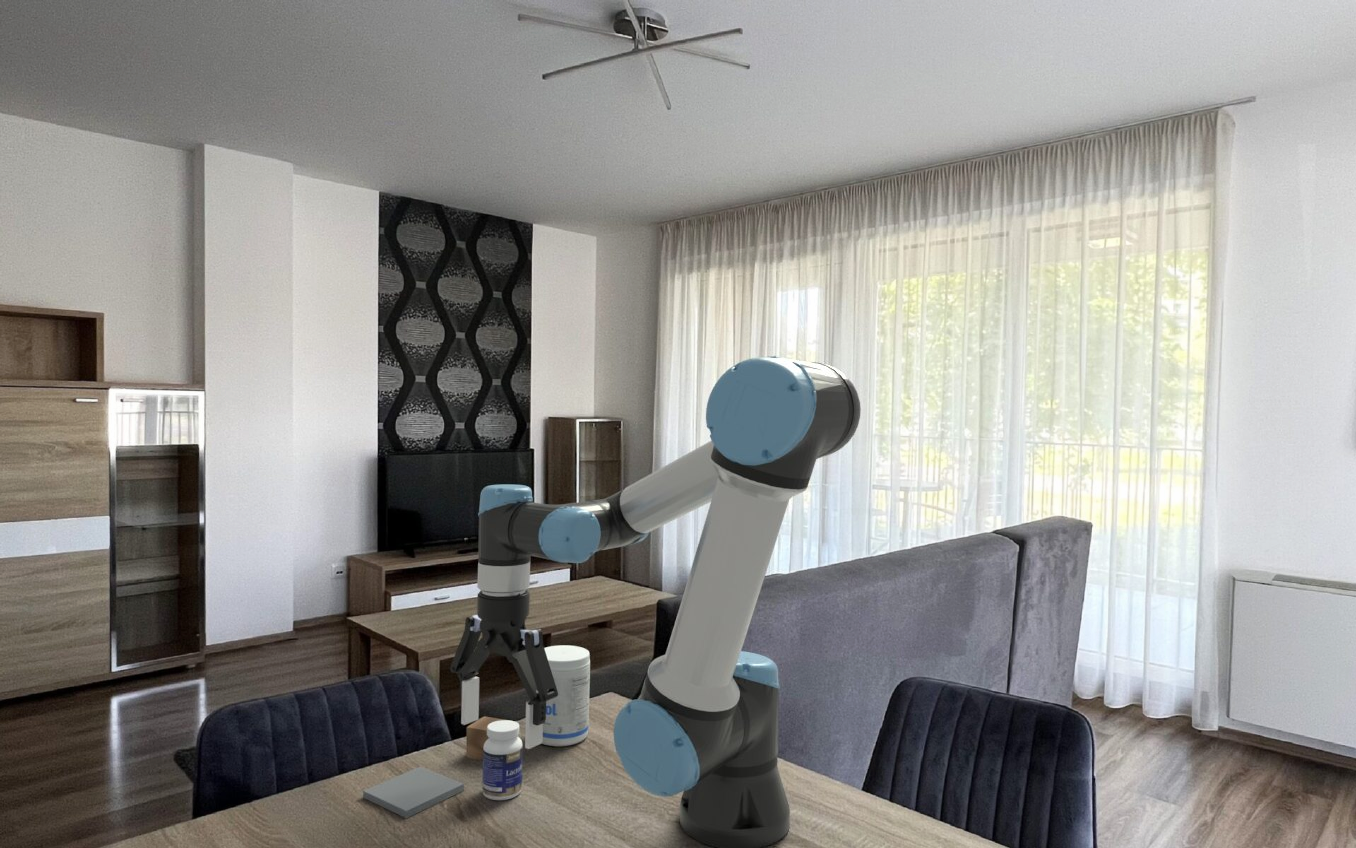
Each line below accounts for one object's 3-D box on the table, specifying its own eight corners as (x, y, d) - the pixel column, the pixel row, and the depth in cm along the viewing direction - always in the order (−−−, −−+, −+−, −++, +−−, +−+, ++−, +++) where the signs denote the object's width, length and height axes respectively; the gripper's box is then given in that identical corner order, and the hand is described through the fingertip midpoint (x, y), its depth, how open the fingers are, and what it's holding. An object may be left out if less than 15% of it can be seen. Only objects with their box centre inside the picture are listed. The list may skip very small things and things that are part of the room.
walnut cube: (509, 750, 133) (509, 720, 133) (492, 762, 129) (493, 731, 129) (483, 746, 135) (484, 716, 135) (466, 757, 130) (466, 727, 130)
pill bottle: (512, 804, 115) (513, 734, 115) (475, 799, 116) (476, 731, 116) (528, 785, 121) (528, 719, 121) (492, 781, 122) (493, 716, 122)
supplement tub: (521, 741, 137) (522, 655, 137) (554, 722, 145) (555, 641, 145) (568, 753, 133) (569, 664, 132) (599, 733, 141) (600, 649, 141)
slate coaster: (463, 790, 119) (463, 784, 119) (406, 818, 111) (406, 811, 111) (420, 772, 125) (420, 766, 125) (363, 797, 116) (363, 790, 116)
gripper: (584, 599, 114) (581, 747, 115) (467, 574, 128) (464, 705, 129) (547, 609, 108) (543, 765, 108) (428, 581, 122) (425, 720, 123)
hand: (500, 733), depth 119 cm, fingers open, 13 cm apart
